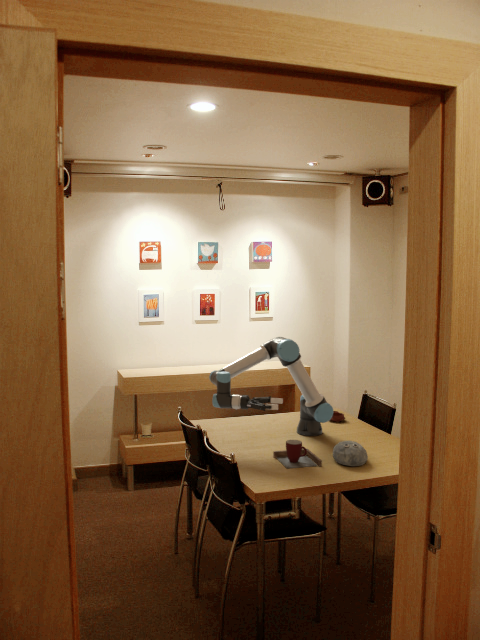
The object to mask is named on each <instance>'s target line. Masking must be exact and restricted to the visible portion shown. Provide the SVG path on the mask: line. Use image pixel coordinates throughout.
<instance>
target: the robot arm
mask: <svg viewBox="0 0 480 640" xmlns="http://www.w3.org/2000/svg"><path fill="white" fill-rule="evenodd" d="M274 358H278V360H279V362H280V363H281V365H282V367H285V368H287V370H288V372H289V373H290V375H291V377H292V379H293V381H294V382H295V385H296V386H297V388H298V389H299V391H300V392H301V395H300V397H299V398H300V400H299V402H300V403H299V404H300V406H299V412H300V413H299V421H298V423H297V427H296V433H297V434H299V435H302V436H306V437H307V436H309V437H314V436H320V435H322V434H323V427H322V424H324V423H327V422H330V421H331V420H330V419H331V418H332V415H333V411H334V407H333V406H332V405H331V403H329V402H327V401H328V400H327V399H326V397H325V396H324V394H322V393H320V392H319V391H318V388H317V387H316V386H315V384H314V382H313V379H312V378H311V376H310V375H309V373H308V371H307V370H306V368H305V365H304V364H303V362H302V360H301V359H302V355H301V353H300V346H299V344H298V343H297V342H295V340H293V339H290V338H286V337H283V336H277V337H274V338H272V339H270V340H267V341H266V342H264V343H262V344H261V345H260V346H259V348H257V349H255V350H253V351H251V352H250V353H248V354H246V355H244V356H242V357H240V358H238V359H237V360H235V361H233V362H232V363H229V364H228V365H226V366H224V367H223V368H221V369H218V370H212V371H211V372H210V374H209V381H210V383H212V385H215V386H216V393H213V395H212V399H211V400H212V401H211V402H212V406H213V407H214V408H219V409H234V410H235V411H237V410H248V409H253V410H258V411H259V410H260V411H263V412H265V411H266V410H271V411H272V410H273V411H278V410H279V404H283V403H284V398H279V397H272V396H271V395H270V396H260V397H252V398H250V396H249V395H248V394H232V392H231V390H232V389H231V385H232V382H231V381H232V379H233V378H235V377H237V376H239V375H240V374H242V373H244V372H246V371H248V370H249V369H251V368H253V367H254V366H256V365H258V364H259V365H260V363H262V362H264V361H266V360H267V361H269V360H271V359H274ZM321 423H322V424H321Z"/></svg>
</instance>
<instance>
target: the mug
mask: <svg viewBox="0 0 480 640" xmlns="http://www.w3.org/2000/svg"><path fill="white" fill-rule="evenodd" d="M302 449H304V450H305V453H304V454H303V455H301V450H302ZM306 449H307V448H306V447H305V446H303V442H302V440H299V439H287V440H286V441H285V450H286V451H287V457H288V459H289V461H290V462H292V463H296V462H298V460H299V458H300V457H303V456H305V455H306V453H307V450H306ZM306 456H307V455H306Z"/></svg>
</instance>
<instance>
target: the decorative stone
mask: <svg viewBox="0 0 480 640" xmlns="http://www.w3.org/2000/svg"><path fill="white" fill-rule="evenodd" d="M332 456H333V459H334V461H335V462H336V463H337V464H340V465H343V466H348V467H358V466H363V465H365V464H366V463H367V461H368V460H369V456H368V452H367V450H366V449H365V448H364V446H363V445H362V444H361V443H359V442H357V441H352V440H343V441H339V442H338V443H336V445H334V446H333V450H332Z"/></svg>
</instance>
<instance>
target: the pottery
mask: <svg viewBox="0 0 480 640" xmlns="http://www.w3.org/2000/svg"><path fill="white" fill-rule="evenodd" d="M345 420H346V417H345V414H344V413H342V412H339V411H338V410H337V411H336V410H333V415H332V418H331V419H330V420H329V421H331V422H334V423H339V422H342V421H345Z"/></svg>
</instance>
